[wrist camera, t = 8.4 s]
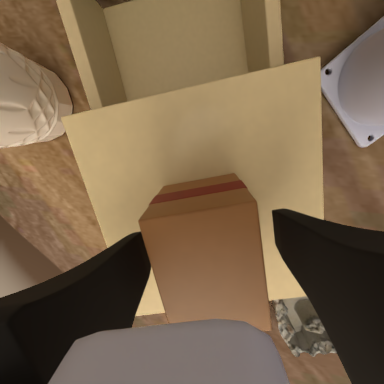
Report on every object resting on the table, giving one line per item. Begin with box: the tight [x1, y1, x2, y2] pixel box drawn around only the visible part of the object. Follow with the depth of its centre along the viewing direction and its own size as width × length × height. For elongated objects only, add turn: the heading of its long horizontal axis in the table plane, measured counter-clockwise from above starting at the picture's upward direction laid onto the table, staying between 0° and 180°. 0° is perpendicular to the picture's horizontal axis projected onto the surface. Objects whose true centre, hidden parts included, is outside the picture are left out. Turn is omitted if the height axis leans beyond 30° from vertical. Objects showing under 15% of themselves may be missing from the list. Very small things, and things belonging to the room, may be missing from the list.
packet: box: [138, 173, 272, 331], centre depth 10 cm, size 6×4×5 cm
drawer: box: [56, 0, 284, 110], centre depth 13 cm, size 18×13×6 cm
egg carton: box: [272, 296, 337, 357], centre depth 22 cm, size 11×8×4 cm
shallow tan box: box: [61, 56, 324, 316], centre depth 16 cm, size 15×14×8 cm
